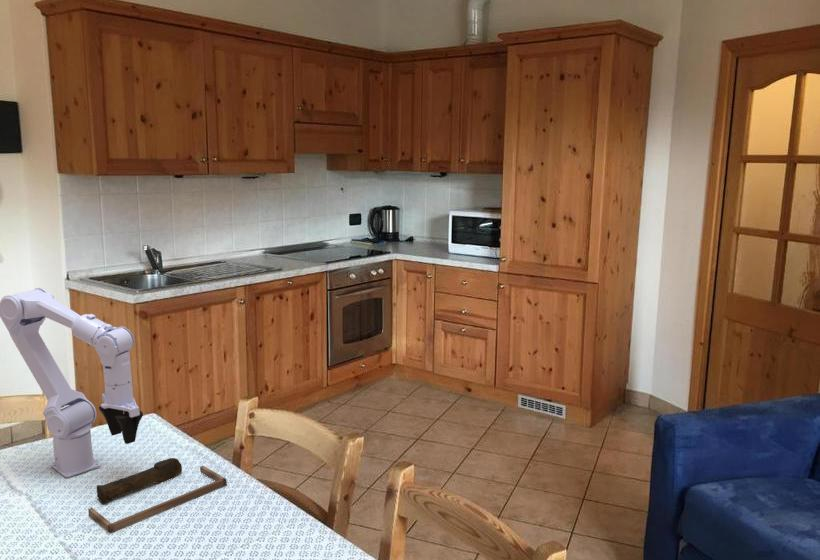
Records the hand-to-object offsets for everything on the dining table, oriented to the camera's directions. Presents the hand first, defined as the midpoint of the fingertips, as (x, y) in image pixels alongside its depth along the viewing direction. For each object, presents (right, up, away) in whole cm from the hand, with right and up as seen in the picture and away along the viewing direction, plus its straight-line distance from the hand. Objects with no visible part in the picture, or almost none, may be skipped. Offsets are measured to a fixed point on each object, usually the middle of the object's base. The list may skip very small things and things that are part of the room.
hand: (123, 438), depth 156 cm
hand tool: (+5, -11, -3) cm, 12 cm away
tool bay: (+12, -11, -9) cm, 19 cm away
